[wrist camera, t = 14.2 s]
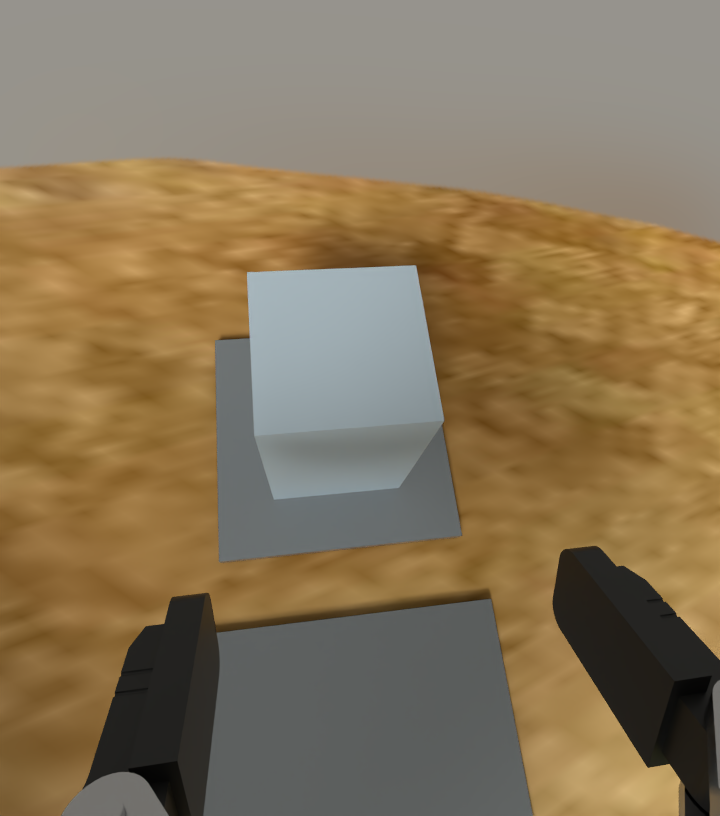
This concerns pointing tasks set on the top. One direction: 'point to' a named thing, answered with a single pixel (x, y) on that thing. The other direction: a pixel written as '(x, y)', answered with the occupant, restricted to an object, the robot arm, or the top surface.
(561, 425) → the top surface
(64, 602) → the top surface
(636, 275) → the top surface
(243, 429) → the gray plate with knob
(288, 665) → the mat
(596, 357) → the top surface
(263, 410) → the light gray block
